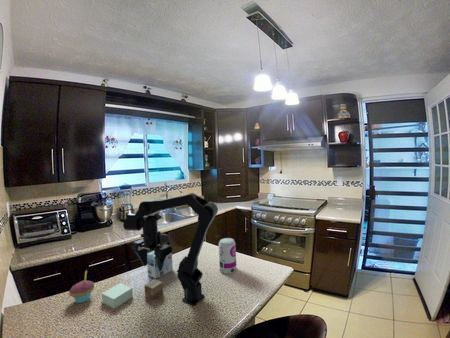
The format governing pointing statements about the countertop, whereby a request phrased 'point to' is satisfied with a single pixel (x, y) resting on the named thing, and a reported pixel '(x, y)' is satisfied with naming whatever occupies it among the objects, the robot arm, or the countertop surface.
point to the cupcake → (82, 290)
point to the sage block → (117, 295)
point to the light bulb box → (153, 267)
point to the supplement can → (227, 255)
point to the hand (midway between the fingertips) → (152, 268)
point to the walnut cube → (153, 289)
